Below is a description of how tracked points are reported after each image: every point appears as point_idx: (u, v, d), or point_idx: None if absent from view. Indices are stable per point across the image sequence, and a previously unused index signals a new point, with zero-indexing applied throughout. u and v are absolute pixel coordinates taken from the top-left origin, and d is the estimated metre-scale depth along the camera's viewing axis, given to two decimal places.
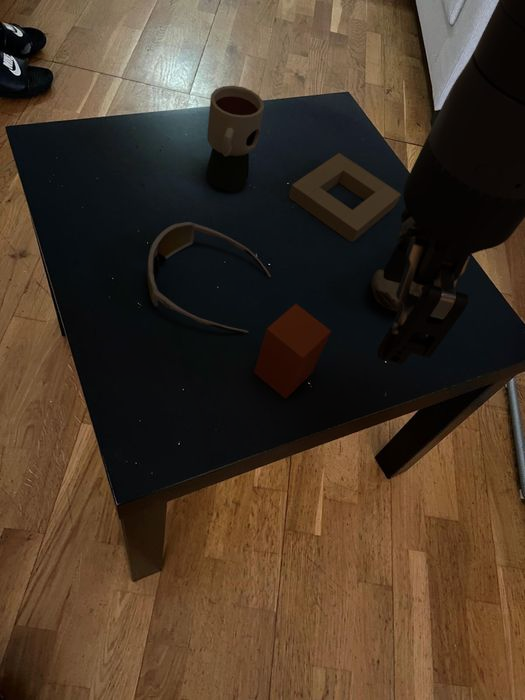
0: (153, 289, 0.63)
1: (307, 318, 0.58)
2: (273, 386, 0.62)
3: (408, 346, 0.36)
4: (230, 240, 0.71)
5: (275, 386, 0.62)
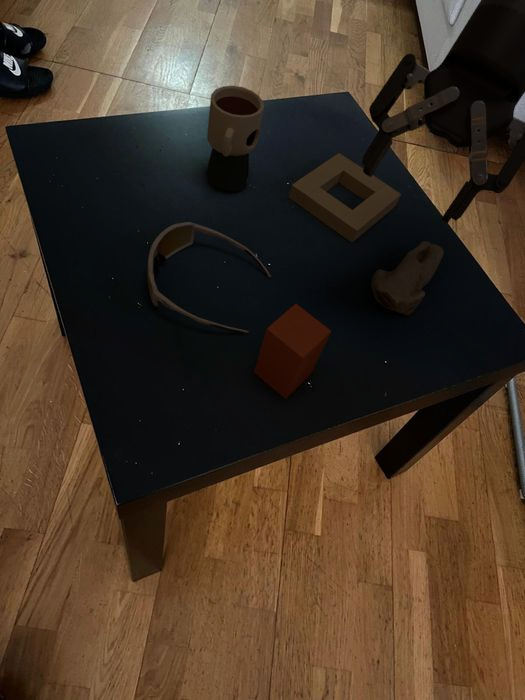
0: (153, 289, 0.63)
1: (307, 318, 0.58)
2: (273, 386, 0.62)
3: None
4: (230, 240, 0.71)
5: (275, 386, 0.62)
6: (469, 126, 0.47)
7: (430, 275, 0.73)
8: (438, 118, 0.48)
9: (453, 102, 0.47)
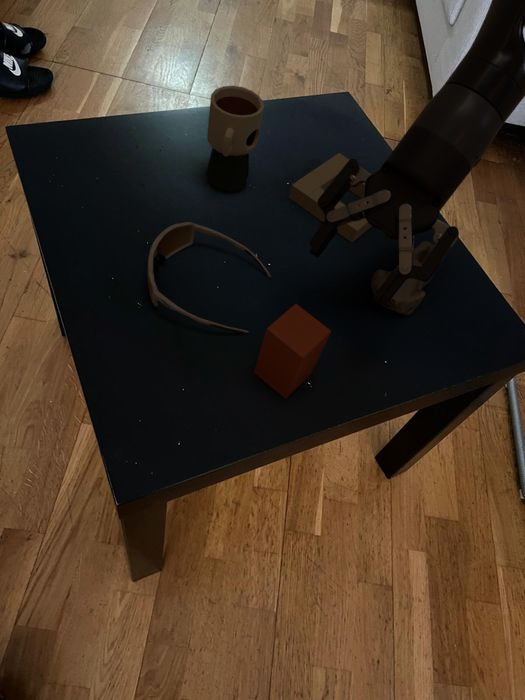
0: (153, 289, 0.63)
1: (307, 318, 0.58)
2: (273, 386, 0.62)
3: None
4: (230, 240, 0.71)
5: (275, 386, 0.62)
6: (398, 223, 0.54)
7: None
8: (373, 214, 0.55)
9: (386, 202, 0.55)
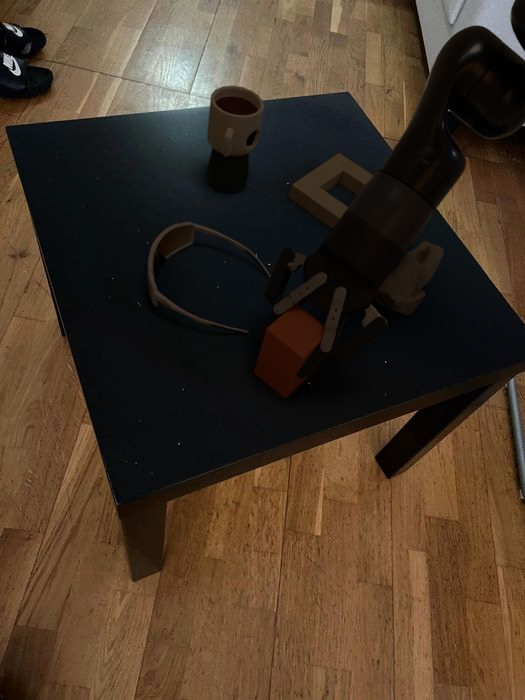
0: (153, 289, 0.63)
1: (307, 318, 0.58)
2: (273, 386, 0.62)
3: None
4: (230, 240, 0.71)
5: (275, 386, 0.62)
6: (332, 302, 0.56)
7: (430, 275, 0.73)
8: (311, 294, 0.56)
9: (323, 284, 0.56)
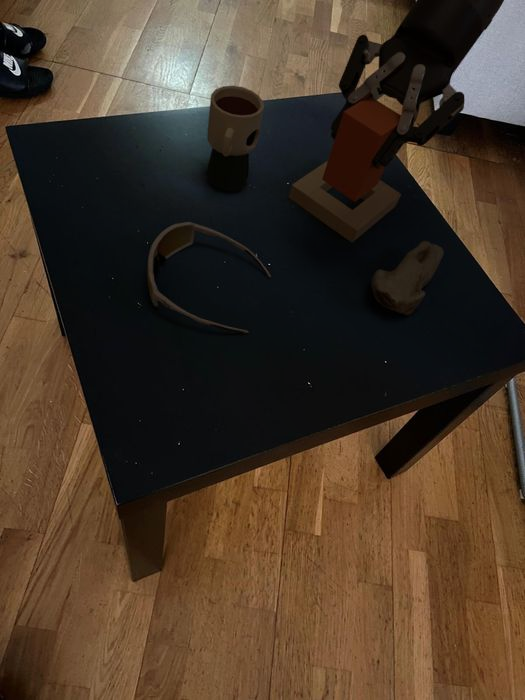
0: (153, 289, 0.63)
1: (382, 107, 0.58)
2: (342, 189, 0.63)
3: None
4: (230, 240, 0.71)
5: (345, 188, 0.63)
6: None
7: (430, 275, 0.73)
8: (388, 79, 0.57)
9: (400, 65, 0.56)
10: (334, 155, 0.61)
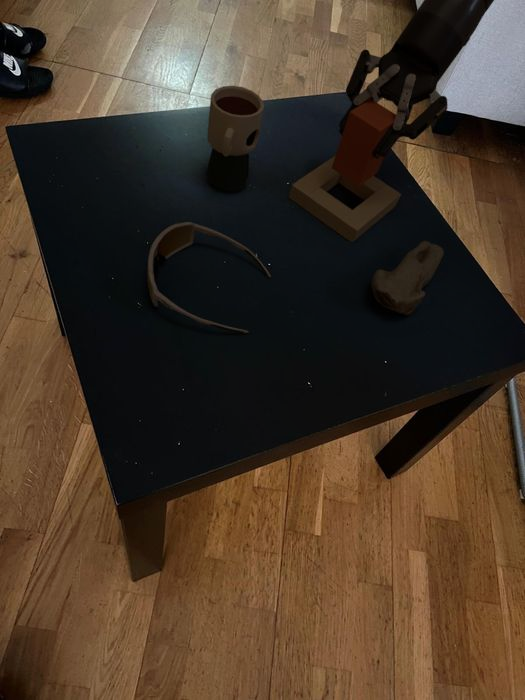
0: (153, 289, 0.63)
1: (381, 108, 0.71)
2: (348, 176, 0.76)
3: None
4: (230, 240, 0.71)
5: (350, 175, 0.76)
6: (403, 90, 0.70)
7: (430, 275, 0.73)
8: (385, 85, 0.70)
9: (395, 75, 0.69)
10: (342, 147, 0.74)
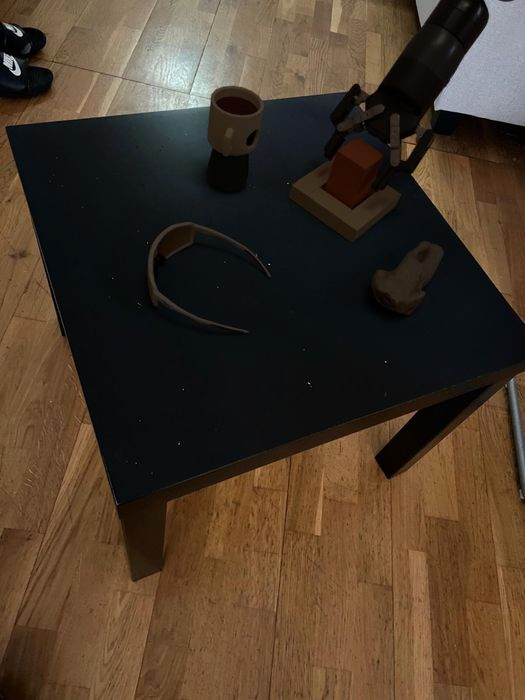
0: (153, 289, 0.63)
1: (366, 146, 0.76)
2: None
3: None
4: (230, 240, 0.71)
5: None
6: (390, 129, 0.74)
7: (430, 275, 0.73)
8: (371, 124, 0.75)
9: (380, 114, 0.74)
10: (330, 182, 0.79)
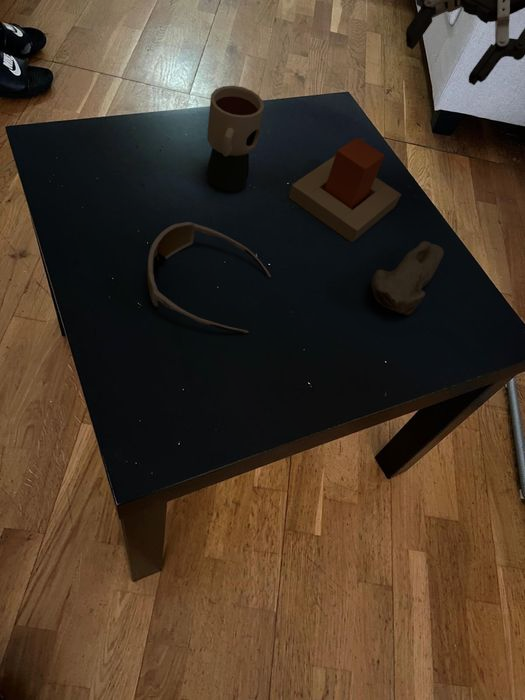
0: (153, 289, 0.63)
1: (366, 146, 0.76)
2: None
3: None
4: (230, 240, 0.71)
5: None
6: None
7: (430, 275, 0.73)
8: None
9: None
10: (330, 182, 0.79)
